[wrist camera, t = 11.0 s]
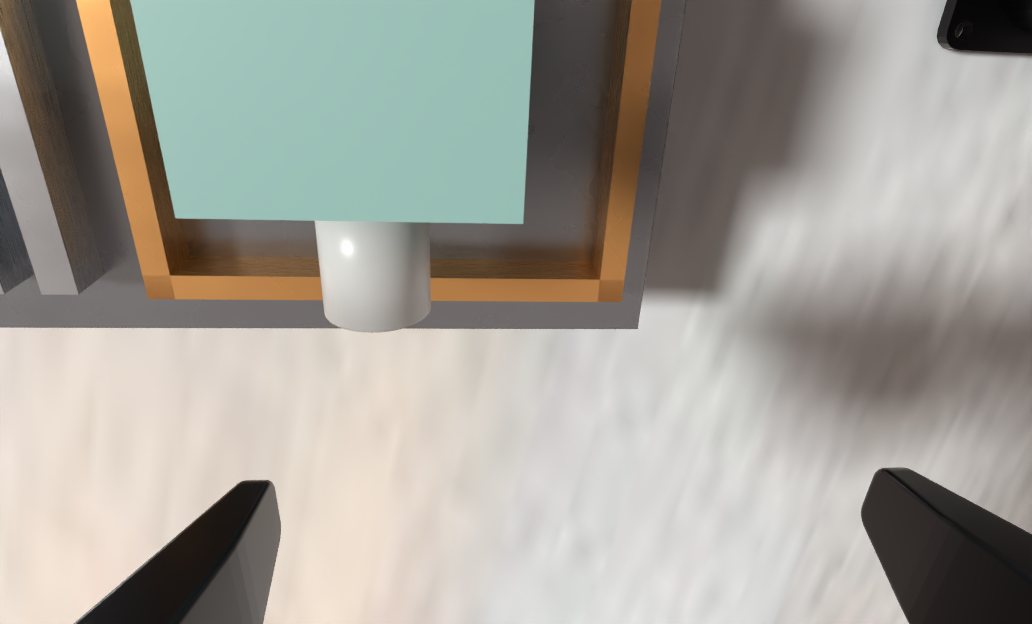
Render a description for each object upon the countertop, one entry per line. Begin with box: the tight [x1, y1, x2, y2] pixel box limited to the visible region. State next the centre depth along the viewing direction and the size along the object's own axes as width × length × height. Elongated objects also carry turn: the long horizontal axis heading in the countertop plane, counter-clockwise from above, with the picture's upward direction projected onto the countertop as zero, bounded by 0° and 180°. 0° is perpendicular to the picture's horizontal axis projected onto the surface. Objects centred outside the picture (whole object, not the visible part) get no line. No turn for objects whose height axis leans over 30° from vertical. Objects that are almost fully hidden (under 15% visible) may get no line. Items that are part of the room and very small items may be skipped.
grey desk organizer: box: [0, 0, 686, 329], centre depth 14 cm, size 18×15×5 cm
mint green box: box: [130, 0, 535, 332], centre depth 11 cm, size 5×7×6 cm
